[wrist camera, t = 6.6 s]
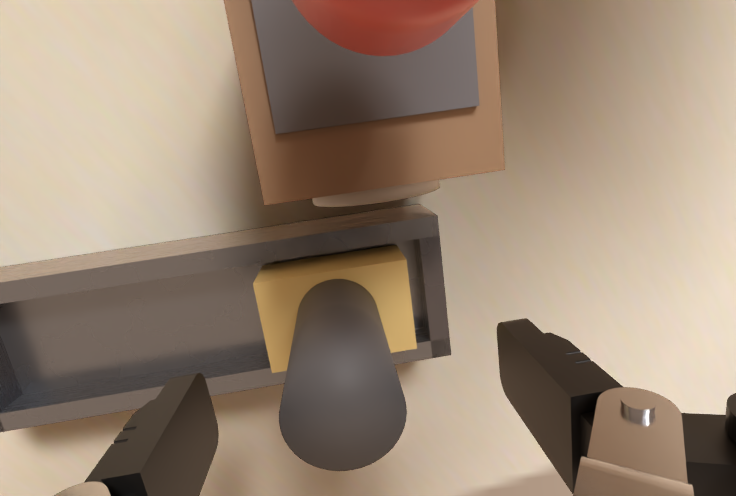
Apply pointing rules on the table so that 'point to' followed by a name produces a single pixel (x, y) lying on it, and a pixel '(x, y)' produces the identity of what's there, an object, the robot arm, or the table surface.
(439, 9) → the button
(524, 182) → the table surface
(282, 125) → the cabinet
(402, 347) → the carriage
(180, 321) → the rail
